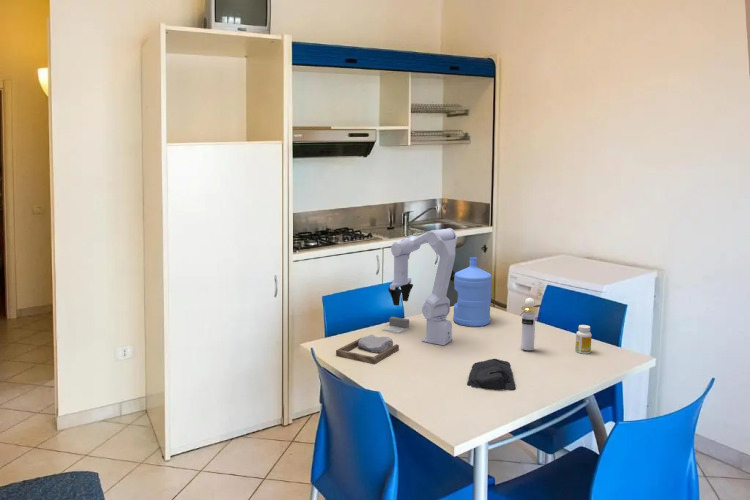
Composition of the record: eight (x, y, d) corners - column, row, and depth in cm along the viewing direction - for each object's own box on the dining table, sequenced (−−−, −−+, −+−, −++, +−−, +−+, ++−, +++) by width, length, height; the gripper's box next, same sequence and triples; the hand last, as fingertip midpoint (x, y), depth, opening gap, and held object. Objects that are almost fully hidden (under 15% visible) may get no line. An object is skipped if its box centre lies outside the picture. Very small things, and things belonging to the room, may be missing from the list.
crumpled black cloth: (516, 368, 218) (516, 355, 218) (515, 393, 197) (515, 379, 196) (471, 364, 222) (471, 351, 221) (465, 388, 201) (466, 374, 200)
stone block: (382, 359, 232) (395, 346, 240) (380, 347, 230) (393, 335, 238) (355, 354, 238) (368, 342, 246) (353, 343, 236) (367, 331, 244)
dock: (398, 350, 236) (398, 344, 235) (374, 364, 221) (374, 358, 221) (361, 342, 244) (361, 337, 244) (336, 355, 230) (336, 350, 229)
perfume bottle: (521, 346, 240) (523, 295, 236) (536, 348, 237) (539, 296, 234) (518, 351, 234) (520, 298, 231) (533, 353, 232) (536, 300, 228)
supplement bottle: (593, 351, 234) (594, 326, 233) (586, 355, 230) (588, 329, 229) (579, 348, 238) (580, 323, 236) (572, 351, 234) (574, 326, 232)
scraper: (409, 329, 262) (409, 319, 261) (399, 334, 255) (399, 324, 254) (392, 326, 266) (392, 316, 265) (382, 331, 259) (382, 321, 259)
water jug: (497, 321, 272) (499, 257, 267) (476, 329, 261) (478, 262, 256) (467, 314, 282) (469, 252, 277) (445, 322, 271) (447, 257, 266)
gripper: (401, 266, 267) (400, 298, 270) (383, 273, 255) (383, 305, 258) (415, 268, 264) (415, 300, 266) (398, 274, 252) (398, 308, 254)
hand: (400, 303), depth 262 cm, fingers open, 7 cm apart
